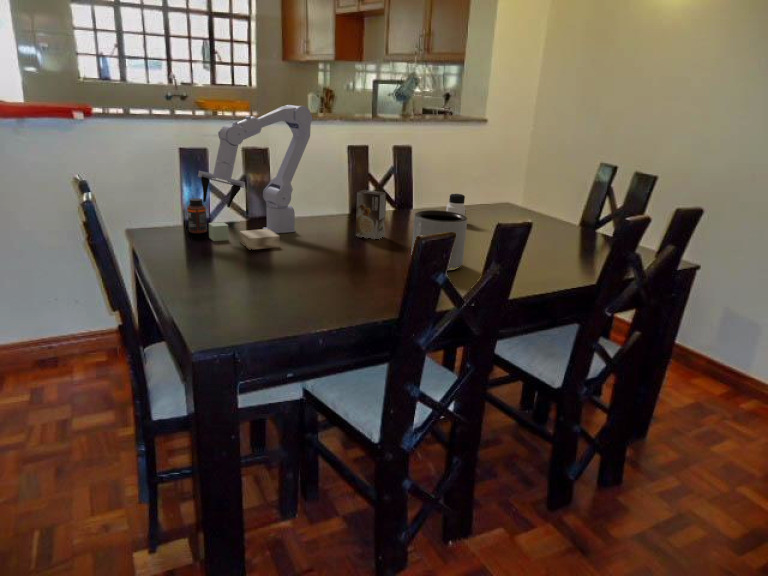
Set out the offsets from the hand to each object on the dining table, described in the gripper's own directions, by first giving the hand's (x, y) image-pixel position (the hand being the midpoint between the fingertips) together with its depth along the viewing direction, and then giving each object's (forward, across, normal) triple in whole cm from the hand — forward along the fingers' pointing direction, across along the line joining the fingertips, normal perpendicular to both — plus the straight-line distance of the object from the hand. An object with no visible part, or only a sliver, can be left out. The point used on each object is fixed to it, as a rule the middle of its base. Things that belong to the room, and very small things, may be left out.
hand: (216, 204), depth 183 cm
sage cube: (+11, +3, +1) cm, 12 cm away
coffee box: (-1, +54, -2) cm, 54 cm away
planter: (0, +64, -37) cm, 74 cm away
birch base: (+9, +15, -8) cm, 19 cm away
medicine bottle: (-13, +94, +16) cm, 96 cm away
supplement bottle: (+12, -3, +10) cm, 16 cm away
